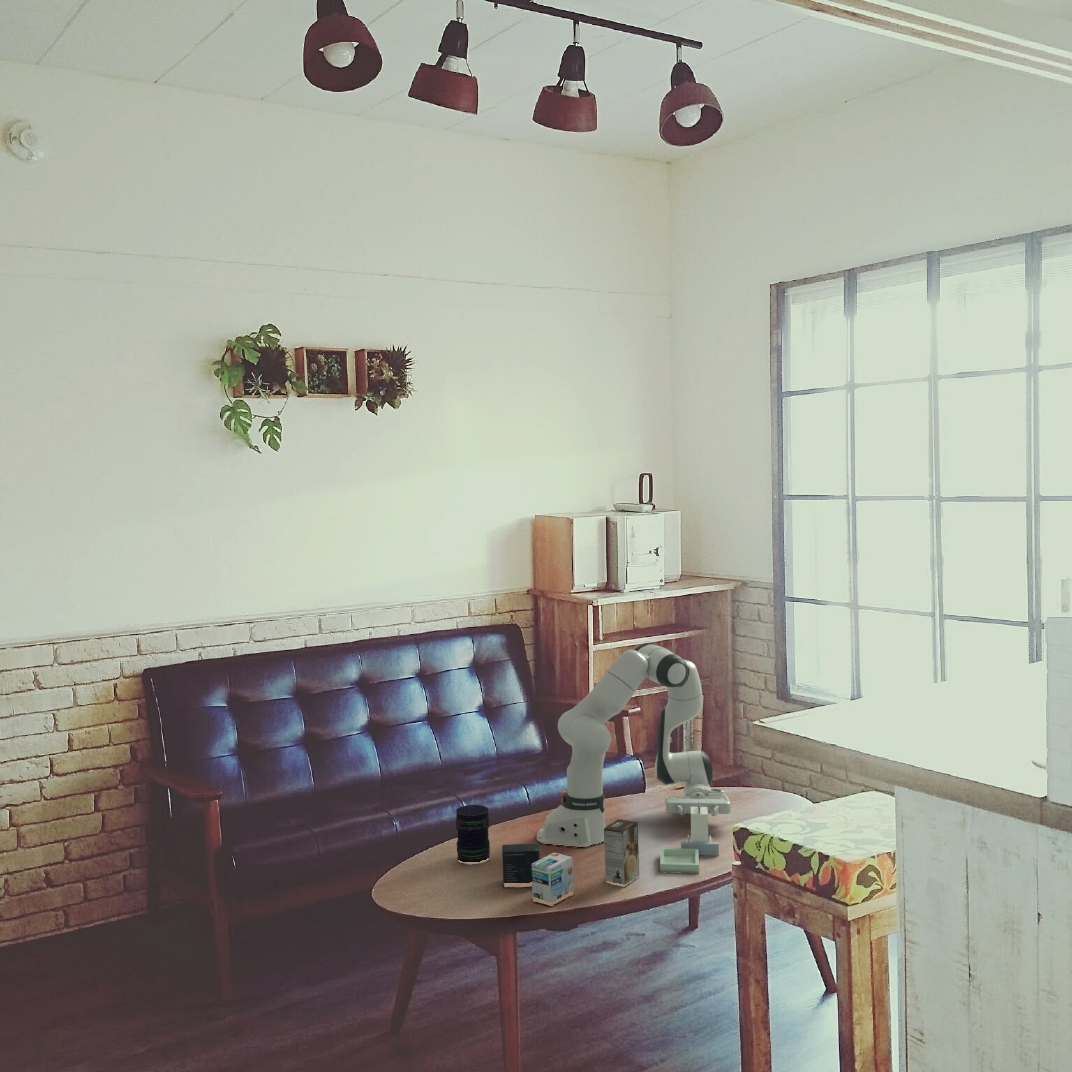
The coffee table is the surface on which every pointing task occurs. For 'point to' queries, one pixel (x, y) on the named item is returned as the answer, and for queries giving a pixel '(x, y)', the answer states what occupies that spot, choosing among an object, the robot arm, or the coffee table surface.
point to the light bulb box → (552, 877)
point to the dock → (702, 847)
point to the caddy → (699, 824)
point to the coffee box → (621, 851)
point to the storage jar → (472, 833)
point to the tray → (679, 860)
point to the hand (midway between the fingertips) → (698, 813)
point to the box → (519, 862)
